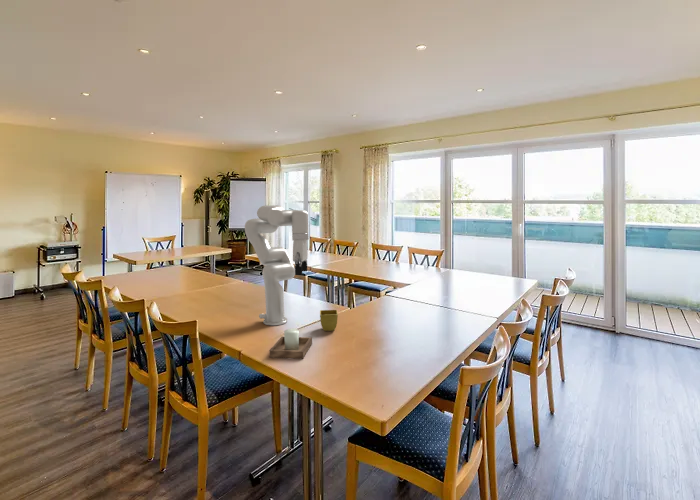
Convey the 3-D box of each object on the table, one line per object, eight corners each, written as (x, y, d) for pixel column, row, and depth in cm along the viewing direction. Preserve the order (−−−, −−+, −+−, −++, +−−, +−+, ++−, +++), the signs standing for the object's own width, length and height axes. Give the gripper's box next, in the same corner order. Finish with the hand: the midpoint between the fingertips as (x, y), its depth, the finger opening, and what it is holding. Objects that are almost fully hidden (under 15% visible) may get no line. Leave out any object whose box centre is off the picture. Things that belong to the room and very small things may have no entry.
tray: (269, 357, 144) (269, 350, 143) (281, 343, 160) (281, 336, 159) (303, 359, 142) (302, 351, 142) (312, 344, 158) (311, 337, 158)
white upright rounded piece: (283, 351, 148) (282, 333, 147) (287, 346, 154) (286, 328, 153) (297, 352, 148) (296, 334, 146) (300, 346, 153) (300, 328, 152)
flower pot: (320, 327, 181) (319, 309, 180) (337, 326, 182) (337, 309, 181) (320, 332, 172) (319, 315, 171) (338, 332, 173) (337, 314, 172)
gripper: (297, 235, 173) (298, 269, 175) (287, 238, 156) (288, 276, 158) (312, 235, 172) (313, 270, 174) (303, 238, 155) (304, 276, 157)
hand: (301, 273), depth 166 cm, fingers open, 9 cm apart
